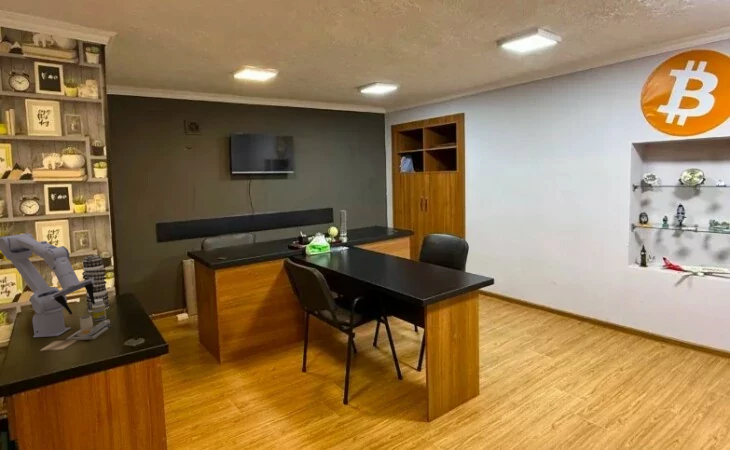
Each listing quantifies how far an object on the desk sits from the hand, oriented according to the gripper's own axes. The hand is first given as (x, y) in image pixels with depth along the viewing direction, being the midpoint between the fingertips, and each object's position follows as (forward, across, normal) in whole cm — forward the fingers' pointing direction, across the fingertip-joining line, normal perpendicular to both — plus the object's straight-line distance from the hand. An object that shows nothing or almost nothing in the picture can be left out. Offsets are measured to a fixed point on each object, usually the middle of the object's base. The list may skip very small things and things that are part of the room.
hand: (82, 308), depth 158 cm
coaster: (+8, -12, +4) cm, 15 cm away
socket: (+8, -3, +10) cm, 13 cm away
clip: (+8, +1, +9) cm, 12 cm away
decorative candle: (-5, +3, +42) cm, 42 cm away
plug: (+8, -3, +10) cm, 13 cm away
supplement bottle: (+2, +2, +27) cm, 27 cm away
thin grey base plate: (+8, +3, +14) cm, 17 cm away
